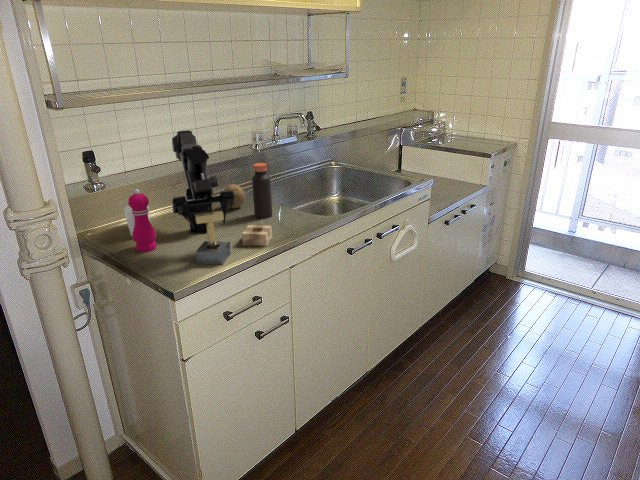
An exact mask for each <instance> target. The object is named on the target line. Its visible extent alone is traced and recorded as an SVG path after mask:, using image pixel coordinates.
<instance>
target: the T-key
mask: <svg viewBox="0 0 640 480" xmlns="http://www.w3.org/2000/svg"><path fill="white" fill-rule="evenodd" d="M195 220H196V223H197V224H200V223H206V227H207V233H206V235H207V241H208V244H209V249H217V243H216V242H217V236H216V226H215V222H218V221H222V220H224V215H223V212H222V211H221V210H218V211H212V212H210V213H203V214H196V215H195Z"/></svg>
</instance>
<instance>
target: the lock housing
mask: <svg viewBox="0 0 640 480" xmlns="http://www.w3.org/2000/svg"><path fill="white" fill-rule="evenodd" d="M216 243H217V249H209V244H208V240H205V241H204V242H202V244H201V245H199V247H198V248H197V249H196V250H195V256H196V257H195V258H196V264H199V265H200V264H201V265H204V264H205V265H224V263H225V262H226V261H227V259H228V258H229V257H230V255H231V253H232V252H231V244H230V241H216Z"/></svg>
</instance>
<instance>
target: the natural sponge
mask: <svg viewBox="0 0 640 480" xmlns="http://www.w3.org/2000/svg"><path fill="white" fill-rule="evenodd" d="M227 190H232V191H233V192H234V195H235V198H234V203H233V205H231V206H230V208H232V209H239V208H240V206H242V205H243V204H244V203H245V202H246V200H247V198H246V193H245V192H244V189H243V188H242V187H241V186H239V185H238V184H234V183H233V184H228V185H227V186H226V187H225V188H224V190H223V191H227Z"/></svg>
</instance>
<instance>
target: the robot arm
mask: <svg viewBox="0 0 640 480" xmlns="http://www.w3.org/2000/svg"><path fill="white" fill-rule="evenodd" d="M171 146H172V151H173V153H175V158H176V159H177V160H179V161H180V162H181V163H182V164H181V165H182V169H183V172H184V177H185V181H186V185H187V188H186V191H185V192H186V193H185V195H183V196H181V195H180V196H174V197H173V198H172V199H171V207H172V212H173V214H178V216H182V217H183V218H185V220H186V221H187V222H188V224H189V229H190V230H188V233H189V234H207V227H206V223H200V224H197V223H196V220H195V215H196V214H203V213H210V212H213V203H214V204H215V203H219V204H220V211H222V212H223V215H224V220H221V221H222V223H223V225H225V224H226V218H227V217H226V216H227V209H229V208H231V207H230V206H231V205H233V203H234V198H235V195H234V192H233V191H232V190H227V191H224V190H221V191H220V192H219V195H215V196H213V194H214V192H213V189H214V188H217V187H218V186H219V184H218V179H217V176H216V175H214V176H210V177H209V178H208V175H207V168H208V167H207V166H208V160H209V159H210V155H209V154H208V153H207V152H206V150H205V149H203V147H202V145H200V144H198V143H197V139H196V136H195V135H194V134H193V131H192V130H189V129H188V130H179V131H177V132H176V134H175V136H174V137H173V136H172V138H171Z"/></svg>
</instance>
